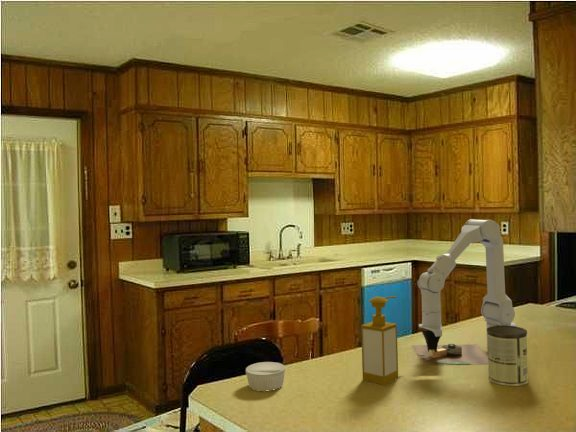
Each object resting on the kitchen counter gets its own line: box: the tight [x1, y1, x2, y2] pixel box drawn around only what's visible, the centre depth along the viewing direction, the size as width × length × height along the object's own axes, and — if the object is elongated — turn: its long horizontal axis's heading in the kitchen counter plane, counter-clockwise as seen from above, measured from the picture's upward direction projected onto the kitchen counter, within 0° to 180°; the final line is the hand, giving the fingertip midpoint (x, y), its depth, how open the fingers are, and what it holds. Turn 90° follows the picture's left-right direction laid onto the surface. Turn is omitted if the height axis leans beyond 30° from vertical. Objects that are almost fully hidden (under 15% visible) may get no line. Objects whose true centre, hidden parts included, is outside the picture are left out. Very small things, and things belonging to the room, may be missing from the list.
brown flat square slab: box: [411, 343, 488, 366], centre depth 171 cm, size 22×22×1 cm
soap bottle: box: [360, 296, 399, 386], centre depth 155 cm, size 7×13×24 cm, turn 137°
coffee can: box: [486, 326, 529, 387], centre depth 148 cm, size 10×10×14 cm
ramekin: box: [245, 361, 286, 392], centre depth 150 cm, size 11×11×5 cm
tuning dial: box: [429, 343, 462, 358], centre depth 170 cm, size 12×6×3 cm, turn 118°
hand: (432, 353), depth 170 cm, fingers closed, pressing on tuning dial
